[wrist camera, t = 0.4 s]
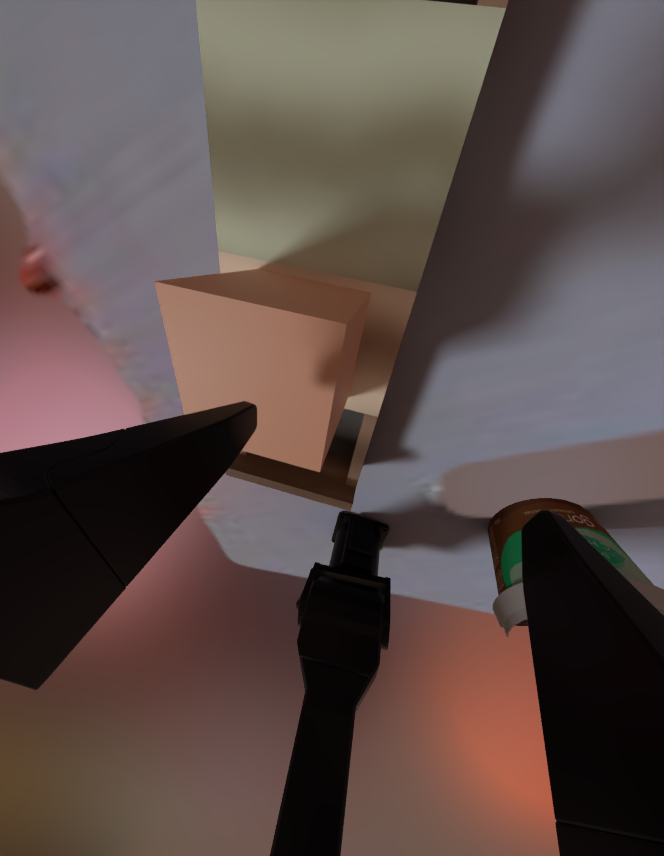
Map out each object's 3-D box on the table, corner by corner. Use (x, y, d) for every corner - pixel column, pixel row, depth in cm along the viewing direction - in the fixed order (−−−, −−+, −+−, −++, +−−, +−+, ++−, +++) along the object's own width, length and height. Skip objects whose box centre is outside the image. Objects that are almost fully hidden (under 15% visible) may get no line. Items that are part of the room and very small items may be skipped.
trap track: (359, 465, 28) (350, 511, 23) (255, 437, 29) (226, 474, 24) (642, -465, 7) (1191, -2113, 2) (230, -439, 8) (-29, -1466, 3)
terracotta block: (348, 397, 19) (320, 472, 13) (259, 375, 20) (189, 435, 13) (371, 292, 15) (346, 324, 8) (257, 269, 15) (154, 281, 9)
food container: (627, 484, 22) (756, 617, 14) (614, 529, 25) (714, 660, 17) (468, 493, 27) (497, 599, 19) (473, 531, 30) (499, 636, 21)
